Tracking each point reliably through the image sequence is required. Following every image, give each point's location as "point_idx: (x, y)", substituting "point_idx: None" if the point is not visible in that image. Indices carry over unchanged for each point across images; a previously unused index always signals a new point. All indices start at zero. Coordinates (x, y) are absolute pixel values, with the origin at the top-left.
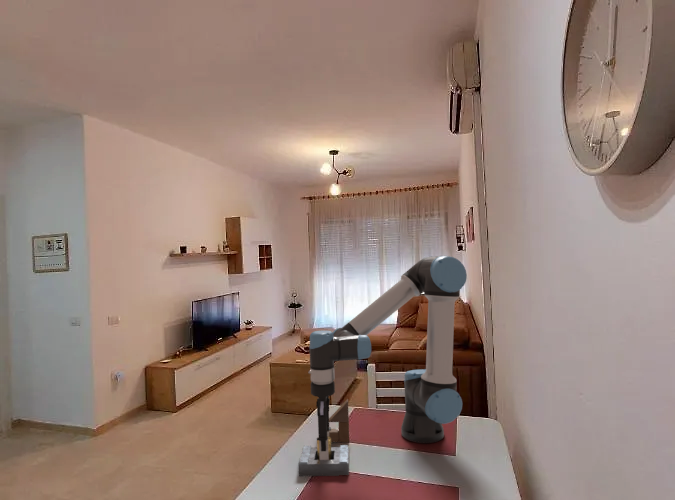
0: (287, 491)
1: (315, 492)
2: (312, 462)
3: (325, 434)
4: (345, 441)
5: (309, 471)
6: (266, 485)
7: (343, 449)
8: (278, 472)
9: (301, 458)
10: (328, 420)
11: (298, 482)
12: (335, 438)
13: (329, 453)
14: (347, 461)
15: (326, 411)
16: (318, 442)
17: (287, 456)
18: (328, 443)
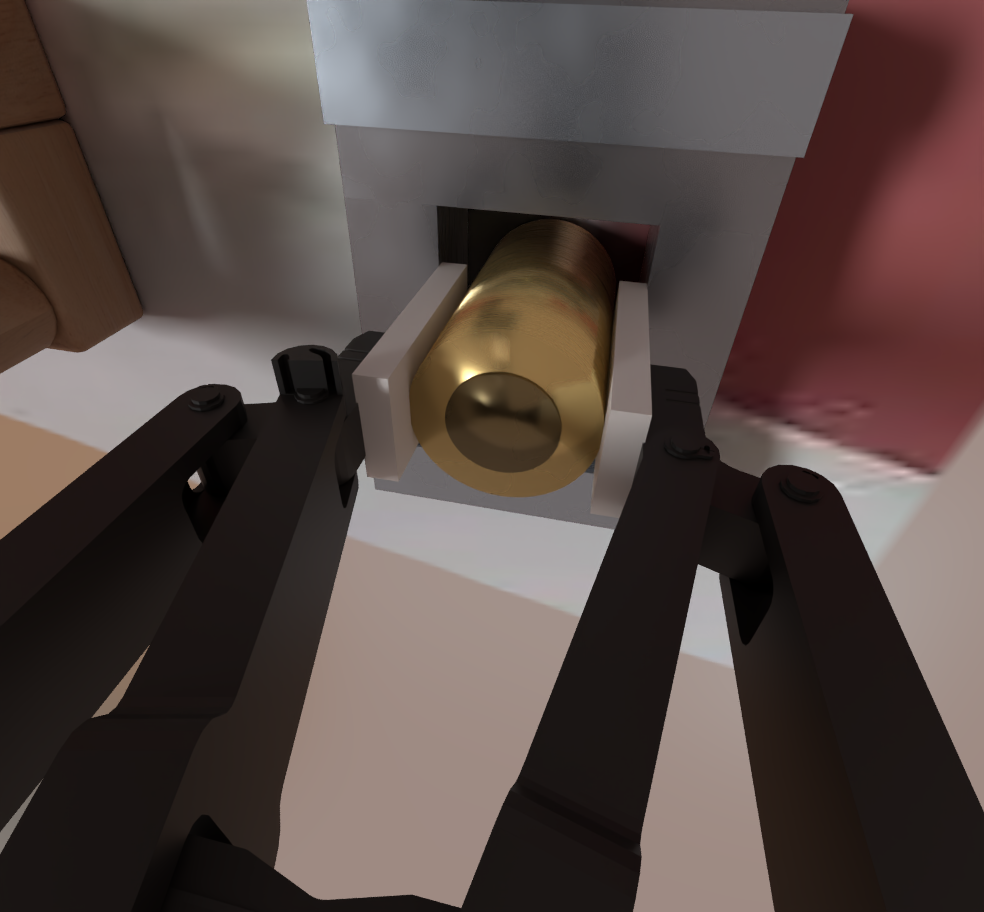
0: None
1: (979, 375)
2: None
3: (864, 577)
4: (30, 34)
5: None
6: (724, 617)
7: (445, 78)
8: (586, 564)
9: (607, 520)
10: (186, 453)
11: None
12: (54, 167)
13: (587, 289)
14: (781, 11)
15: (229, 759)
16: (564, 475)
17: (387, 513)
18: (585, 356)
